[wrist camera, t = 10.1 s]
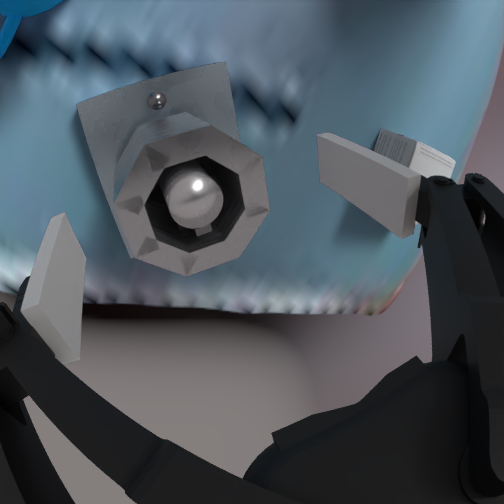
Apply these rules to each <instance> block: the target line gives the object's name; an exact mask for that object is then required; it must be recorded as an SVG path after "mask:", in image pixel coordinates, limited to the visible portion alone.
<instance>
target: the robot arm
mask: <svg viewBox="0 0 504 504" xmlns="http://www.w3.org/2000/svg"><path fill="white" fill-rule="evenodd" d="M317 146H318V161H319V178H320V182H321V183H323V184H324V185H326V186H327V187H329V188H330V189H332V190H333V191H335V192H336V193H338V194H339V195H341V196H342V197H344V198H345V199H346V200H348V201H349V202H351V203H352V204H354V205H355V206H357V207H358V208H359V209H361V210H362V211H364V212H365V213H366V214H368V215H369V216H371V217H372V218H373V219H375V220H376V221H378V222H379V223H380V224H382V225H383V226H384V227H386V228H387V229H388V230H390V231H391V232H392V233H394V234H395V235H396V236H398V237H399V238H400V239H403V238H405V237H407V236H410V235H412V234H414V228H415V221H417V222H418V223H420V224H421V225H422V226H421V232H420V237H419V243H418V248H420V246H421V245H422V247H423V254H424V261H425V267H426V276H427V284H428V294H429V305H430V317H431V333H432V362H429V363H424V364H423V363H422V361H421V360H420V359H419V358H418V357H417V356H415V357H414V358H412V359H410V360H409V361H408V362H406V363H404V364H403V365H401V366H400V367H398V368H396V369H395V370H393V371H392V372H390V373H388V374H387V375H386V376H385V377H384V378H383V379H382V380H381V381H380V382H379V383H378V384H377V385H376V386H375V387H374V388H373V389H372V390H371V391H370V392H369V393H368V394H367V395H366V396H365V397H364V398H363V399H362V400H361V401H360V402H358V403H356V404H354V405H350V406H346V407H343V408H338V409H335V410H330V411H326V412H322V413H318V414H313V415H311V416H308V417H306V418H304V419H302V420H300V421H298V422H295V423H293V424H291V425H289V426H287V427H284V428H282V429H280V430H277V431H275V432H272V433H271V434H272V437H273V440H274V443H273V444H271V445H270V446H269V447H267V448H266V449H265V450H264V451H263V452H262V453H261V454H259V455H258V456H257V458H256V459H255V460H254V461H253V463H252V464H251V465H250V466H249V468H248V470H247V471H246V473H245V475H244V477H243V479H242V478H239V477H237V476H235V475H233V474H231V473H229V472H227V471H225V470H223V469H220V468H219V467H217V466H215V465H213V464H211V463H209V462H207V461H205V460H203V459H201V458H200V457H198V456H196V455H194V454H192V453H191V452H189V451H187V450H185V449H184V448H182V447H180V446H178V445H177V444H175V443H173V442H171V441H169V440H166V439H165V440H164V439H161V438H160V437H158V436H156V435H155V434H153V433H152V432H150V431H149V430H147V429H146V428H144V427H142V426H141V425H140V424H138V423H137V422H135V421H134V420H132V419H131V418H129V417H128V416H126V415H125V414H124V413H122V412H121V411H120V410H118V409H117V408H116V407H114V406H113V405H112V404H110V403H109V402H107V401H106V400H105V399H104V398H102V397H101V396H100V395H98V394H97V393H96V392H95V391H93V390H92V389H91V388H90V387H88V386H87V385H86V384H85V383H84V382H82V381H81V380H80V379H79V378H78V377H77V376H75V375H74V374H73V373H72V372H71V371H70V370H68V369H67V368H66V367H65V366H64V365H66V364H69V363H72V362H75V361H78V360H81V320H82V303H83V289H84V278H85V268H86V259H87V258H86V256H85V254H84V252H83V250H82V248H81V246H80V244H79V242H78V240H77V238H76V236H75V234H74V231H73V229H72V227H71V225H70V223H69V220H68V218H67V216H66V214H65V212H63V213H61V214H59V215H56V216H54V217H52V218H51V220H50V222H49V225H48V227H47V230H46V232H45V235H44V238H43V240H42V243H41V246H40V249H39V252H38V254H37V257H36V260H35V263H34V266H33V269H32V272H31V276H29V277H26V279H25V280H24V281H23V283H22V284H21V286H20V288H19V292H18V295H17V296H18V297H17V298H16V304H15V305H14V308H13V312H11V310H10V309H9V307H8V306H7V304H6V303H4V302H1V303H0V504H75V502H74V501H73V499H72V498H71V496H70V494H69V493H68V491H67V490H66V488H65V486H64V484H63V483H62V481H61V479H60V477H59V476H58V474H57V472H56V470H55V468H54V466H53V465H52V463H51V461H50V459H49V457H48V455H47V453H46V451H45V449H44V447H43V445H42V443H41V441H40V439H39V436H38V434H37V433H36V430H35V428H34V425H33V423H32V421H31V418H30V416H29V413H28V411H27V409H26V406H25V404H24V401H23V399H24V398H25V397H27V396H28V395H29V396H30V397H31V398H32V399H33V401H34V402H35V403H36V404H37V405H38V407H39V408H40V409H41V410H42V411H43V412H44V413H45V415H46V416H47V417H48V418H49V419H50V420H51V421H52V422H53V424H54V425H55V426H56V427H57V428H58V429H59V430H60V431H61V432H62V433H63V434H64V435H65V436H66V437H67V438H68V439H69V440H70V441H71V442H72V443H73V444H74V445H75V446H76V447H77V448H78V449H79V450H80V451H81V452H82V453H83V454H84V455H85V456H86V457H87V458H88V459H89V460H91V461H92V462H93V463H94V464H95V465H96V466H97V467H98V468H100V469H101V470H102V471H103V472H104V473H105V474H106V475H108V476H109V477H110V478H111V479H112V480H114V481H115V482H116V483H117V484H118V485H120V486H121V487H122V488H123V489H124V490H125V494H127V496H128V497H129V498H130V499H132V500H133V501H134V502H135V503H137V504H504V194H503V193H502V192H501V191H500V190H499V189H498V188H497V187H496V186H495V185H494V184H493V183H492V182H491V181H490V180H488V179H487V178H486V177H484V176H482V175H481V174H477V173H475V174H473V173H469V174H466V175H465V181H464V184H461V185H457V184H456V183H455V182H454V181H453V180H452V179H450V178H447V177H445V176H440V175H434V176H430V177H429V178H426V177H425V176H423V175H421V174H419V173H417V172H415V171H413V170H411V169H409V168H407V167H405V166H403V165H401V164H399V163H397V162H395V161H393V160H391V159H389V158H387V157H385V156H382V155H380V154H378V153H376V152H374V151H372V150H369V149H367V148H365V147H363V146H360V145H358V144H356V143H353V142H351V141H349V140H346V139H344V138H341V137H339V136H337V135H334V134H332V133H329V132H328V133H323V134H318V135H317ZM484 214H485V217H486V218H485V224H483V218H484ZM55 356H56V357H57V358H58V359H59V361H60V362H59V361H58V360H57V359H56V358H55Z"/></svg>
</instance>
